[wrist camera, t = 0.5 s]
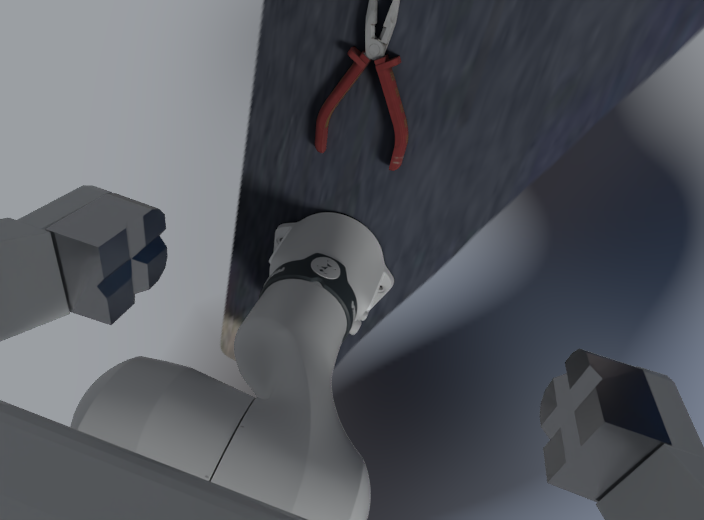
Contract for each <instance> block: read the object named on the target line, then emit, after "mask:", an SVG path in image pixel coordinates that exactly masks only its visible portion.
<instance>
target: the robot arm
mask: <svg viewBox="0 0 704 520" xmlns="http://www.w3.org/2000/svg"><path fill="white" fill-rule="evenodd" d="M165 229H166V223H165V214H164V213H163V212H162V211H161V210H160V209H158V208H155V207H152V206H149V205H147V204H144V203H141V202H138V201H135V200H132V199H130V198H127V197H124V196H121V195H119V194H115V193H112V192H109V191H107V190H104V189H101V188H97V187H95V186H81V187H79V188H77V189H75V190H73V191H72V192H70V193H68V194H66V195H64V196H62V197H60V198H58V199H56V200H54V201H52V202H51V203H49V204H47V205H45V206H43V207H41V208H39V209H37V210H35V211H33V212H32V213H30V214H28V215H26V216H24V217H22V218H20V219H18V220H14V219H11V218H4V219H0V341H2V340H5V339H8V338H10V337H13V336H15V335H18V334H20V333H23V332H25V331H28V330H30V329H33V328H35V327H38V326H40V325H43V324H46V323H48V322H50V321H53V320H56V319H58V318H61V317H63V316H66V315H68V314H70V312H73V313H76V314H79V315H82V316H85V317H88V318H91V319H94V320H97V321H100V322H103V323H106V324H109V325H112V324H113V323H114V322H115V321H116V320H117V319H118V318H119V317H120V316H121V315H123V314H124V313H125V312H126V311H127V310H128V309H129V308H130V307H131V306H132V305H133V304H134V303H135V294H136V293H139V292H143V291H146V290H149V289H150V288H151V287H152V286H153V285H154V284H155V283H156V282H157V281H158V280H159V278H160V276H161V275H162V273H163V271H164V269H165V266H166V261H167V247H166V245H165V243H164V242H163V240H162V239H161V237H160V234H161V233H162V232H163V231H164V230H165ZM282 238H283V239H282ZM269 263H270V272H269V278H268V279H267V281H266V282H265V284H264V286H263V289H262V290H261V292H260V295H259V300H258V302H257V303H256V304H255V306H254V307H253V309H252V310H251V312H250V313H249V314H248V316H247V317H246V319H245V320H244V321H243V323H242V324H241V326H240V327H239V329H238V331H237V334H236V337H235V342H234V353H235V358H236V362H237V365H238V368H239V371H240V373H241V375H242V377H243V378H244V380H245V381H246V383H247V384H248V385H249V387H250V388H251V389H252V390H253V392H254V393H255V395H256V396H257V398H255V397H253V396H251V395H249V394H246V393H244V392H242V391H240V390H238V389H236V388H234V387H231V386H229V385H227V384H225V383H223V382H221V381H218V380H216V379H214V378H212V377H210V376H208V375H206V374H203V373H201V372H199V371H197V370H195V369H193V368H190V367H186V366H182V365H178V364H174V363H170V362H167V361H162V360H157V359H152V358H147V357H142V356H139V357H135V358H132V359H129V360H127V361H124V362H122V363H120V364H118V365H117V366H115V367H113V368H111V369H110V370H108V371H107V372H106V373H104V374H103V375H102V376H100V377H99V378H98V379H97V380H96V381H95V382H94V383H93V384H92V386H91V387H90V388H89V389H88V391H87V392H86V393H85V394H84V396H83V397H82V399H81V401H80V402H79V404H78V406H77V408H76V411H75V413H74V416H73V420H72V423H71V428H70V427H68V426H65V425H63V424H60V423H57V422H55V421H52V420H50V419H47V418H45V417H42V416H39V415H37V414H34V413H32V412H29V411H27V410H24V409H21V408H19V407H16V406H14V405H11V404H8V403H6V402H3V401H0V520H367V517H368V513H369V508H370V494H371V492H370V481H369V476H368V472H367V469H366V465H365V463H364V460H363V458H362V456H361V455H360V454H359V453H358V451H357V450H356V449H355V447H354V446H353V444H352V443H351V441H350V440H349V438H348V436H347V435H346V433H345V431H344V429H343V427H342V424H341V422H340V420H339V417H338V414H337V411H336V408H335V405H334V401H333V396H332V387H331V379H332V373H333V369H334V365H335V361H336V358H337V354H338V351H339V348H340V345H341V343H342V342H343V341H344V340H345V339H346V337H347V336H348V334H349V333H350V334H352V335H355V334H356V332H357V331H358V330H359V328H360V326H361V321H360V320H362V321H364V320H365V319H366V317H367V315H368V312H369V310H370V309H371V308H372V307H373V306H374V305H375V304H376V303H377V302H378V301H379V300H380V299H381V298H382V297H383V296H384V295H385V294H386V293H387V292H388V291H389V290H390V289H391V287H392V286H393V284H394V278H393V276H392V275H391V273H390V271H389V270H388V269H387V267H386V266H385V263H384V259H383V253H382V250H381V247H380V245H379V243H378V241H377V239H376V238H375V236H374V235H373V234H372V233H371V232H370V230H369V229H367V228H366V227H365V226H364V225H363V224H361V223H360V222H358V221H357V220H355V219H353V218H351V217H349V216H346V215H343V214H339V213H331V212H323V213H317V214H313V215H310V216H308V217H306V218H304V219H303V220H301V221H299V222H296V223H284V224H281V225H279V226H278V227H277V229H276V231H275V240H274V251H273V254H272V256H271V257H270V259H269ZM380 286H382V287H380ZM565 366H566V371H567V373H566V374H564V375H561V376H558V377H555V378H553V379H552V381H551V382H550V384H549V385H548V387H547V388H546V390H545V392H544V395H543V399H542V401H541V407H540V422H541V428H542V429H543V430H544V432H545V433H546V435H547V436H548V437H549V439H550V441H549V442H548V443H547V444H546V446H545V447H544V448H543V450H544V458H545V466H546V475H547V482H548V483H549V484H552V485H554V486H557V487H559V488H562V489H565V490H567V491H570V492H572V493H575V494H577V495H580V496H582V497H585V498H587V499H590V500H593V501H595V502H598V503H597V504H596V505H597V507H598V509H599V511H600V512H601V514H602V516H603V517H604V519H605V520H704V447H703V445H702V443H701V440H700V438H699V436H698V434H697V432H696V429H695V427H694V425H693V423H692V421H691V418H690V416H689V414H688V412H687V410H686V407H685V405H684V403H683V401H682V398H681V396H680V394H679V392H678V390H677V387H676V385H675V383H674V382H673V381H672V380H671V379H670V378H669V377H668V376H666V375H663V374H660V373H657V372H653V371H650V370H647V369H644V368H640V367H634V366H631V365H628V364H625V363H622V362H619V361H615V360H613V359H610V358H606V357H603V356H600V355H597V354H594V353H591V352H588V351H585V350H582V349H578V350H576V351H575V352H573V353H572V354H571V355H570V357H569V358H568V359H567V360H566V362H565Z"/></svg>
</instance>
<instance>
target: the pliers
mask: <svg viewBox="0 0 704 520" xmlns="http://www.w3.org/2000/svg"><path fill="white" fill-rule="evenodd" d="M399 3H400V0H393V1H392V4H391V6H390V9H389V12H388V14H387V17H386V19H385V22H384V25H383V26H384V27H383V29H382V32H381V35H380V37H379V38H377V37H376V36H375V24H377V16H378V9H377V0H369V3H368V8H367V14H366V25H365V50H364V51H363V52H362V53H361V52H360V51H359V50H358V49H357V48H356V47H355V46H354V47H352V48H351V49H350V50H349V51H348V53H347V54H348V55H349V57H350V58H351V59H352V60H353V61H354V63H353V64H352V65H351V67H350V68H349V69H348V71H347V72H346V73H345V75H344V76H343V78H342V79H341V80H340V82H339V83H338V84H337V86H336V87H335V88H334V90H333V91H332V92H331V94H330V95H329V97H328V98H327V99H326V101H325V102H324V104H323V106H322V107H321V109H320V111H319V114H318V116H317V120H316V133H315V148H316V150H317V151H318V152H320V153H324V152H325V150H326V143H327V133H328V124H329V120H330V117H331V115H332V113H333V111H334V109H335V108H336V106H337V105H338V103H339V102H340V101H341V100H342V98H343V97H344V96H345V94H346V93H347V92H348V90H349V89H350V88H351V86H352V85H353V84H354V83H355V81H356V80H357V79H358V77H359V76H360V75H361V73H362V72H363V71H364V69H365V68H366V67H367V66H368V64H369V63H370V62H371V60H374V62H375V67H376V70H377V73H378V76H379V79H380V83H381V86H382V89H383V93H384V96H385V99H386V103H387V106H388V109H389V113H390V116H391V119H392V123H393V126H394V132H395V146H394V151H393V154H392V158H391V162H390V166H389V170H392V171H394V170H396V169H398V168H399V167H400V166H401V164H402V160H403V157H404V153H405V150H406V146H407V143H408V126H407V120H406V116H405V113H404V109H403V106H402V102H401V99H400V95H399V92H398V88H397V85H396V81H395V78H394V74H393V71H392V67H393V66H396V65H398V64H399V63H401V59H400V56H398V57H395V58H392V59H389V57H388V55H385V52H386V49H387V46H388V44H389V41H390V38H391V36H392V33H393V30H394V27H395V24H396V21H397V15H398V9H399Z"/></svg>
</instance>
